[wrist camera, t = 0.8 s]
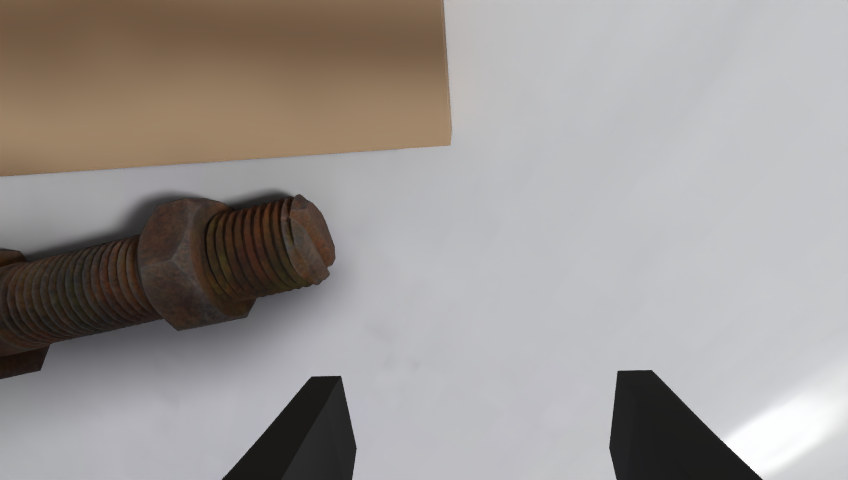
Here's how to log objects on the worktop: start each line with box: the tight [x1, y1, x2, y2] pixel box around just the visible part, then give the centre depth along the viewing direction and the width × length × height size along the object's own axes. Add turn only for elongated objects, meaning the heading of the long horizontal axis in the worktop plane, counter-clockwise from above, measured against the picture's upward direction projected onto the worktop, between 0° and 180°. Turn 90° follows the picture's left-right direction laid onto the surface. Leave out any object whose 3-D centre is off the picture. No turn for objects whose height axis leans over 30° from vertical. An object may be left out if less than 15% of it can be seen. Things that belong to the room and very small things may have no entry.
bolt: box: [0, 194, 335, 379], centre depth 18 cm, size 6×5×15 cm
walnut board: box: [0, 0, 452, 176], centre depth 15 cm, size 8×24×2 cm, turn 95°
